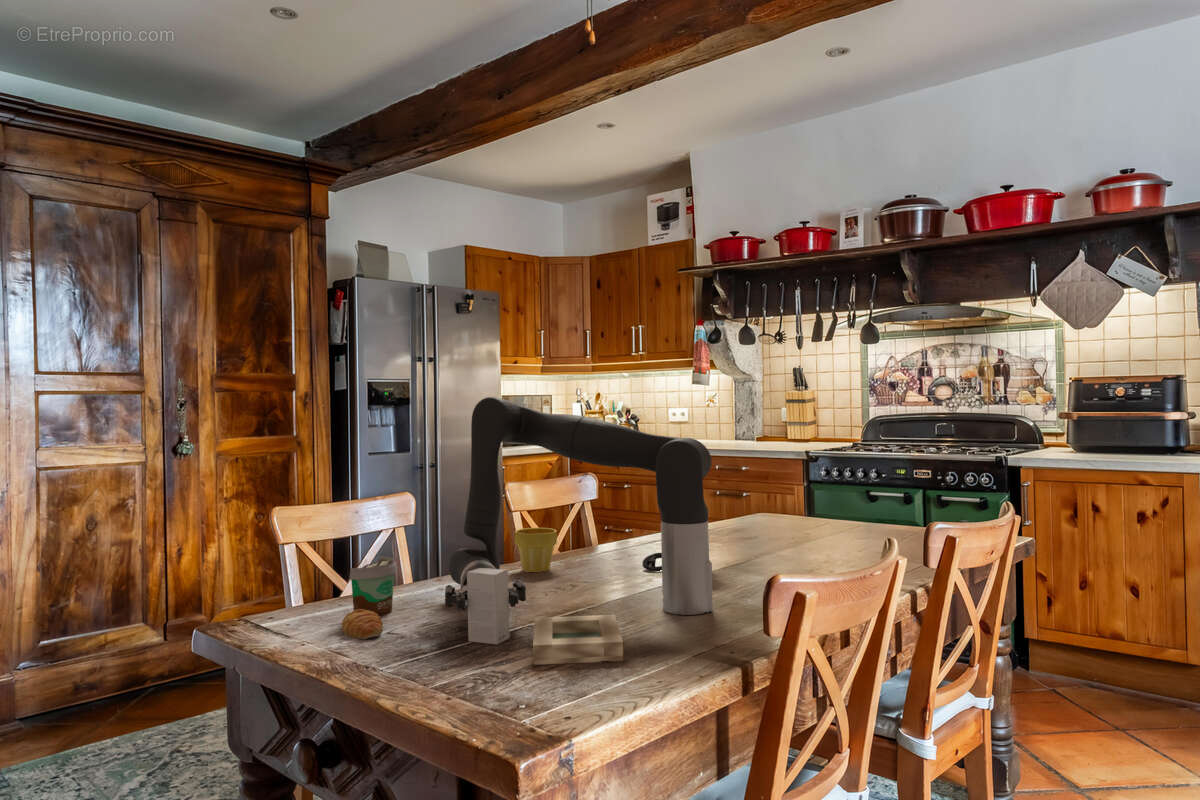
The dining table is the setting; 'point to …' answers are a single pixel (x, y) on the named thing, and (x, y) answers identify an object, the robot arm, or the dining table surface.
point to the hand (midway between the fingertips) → (488, 603)
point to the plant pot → (535, 548)
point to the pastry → (362, 624)
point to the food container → (374, 586)
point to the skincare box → (488, 605)
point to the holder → (576, 640)
